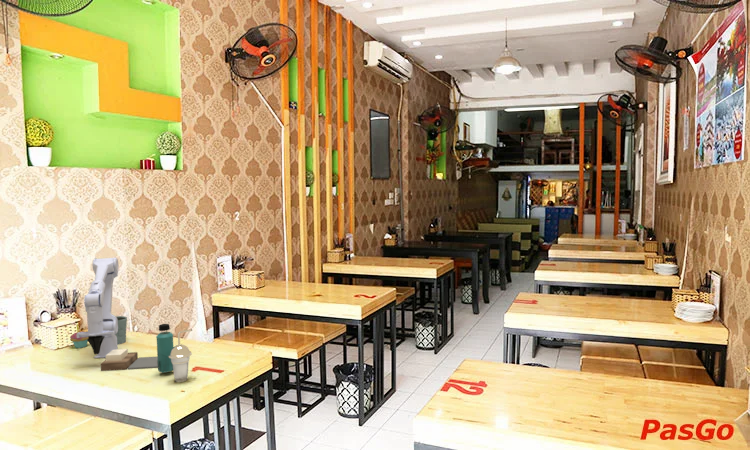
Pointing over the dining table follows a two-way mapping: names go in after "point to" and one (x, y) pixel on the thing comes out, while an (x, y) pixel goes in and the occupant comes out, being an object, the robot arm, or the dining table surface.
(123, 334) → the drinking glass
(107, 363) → the board
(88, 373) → the dining table surface
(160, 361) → the beverage bottle
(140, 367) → the mat
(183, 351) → the cup with straw
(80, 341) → the cupcake
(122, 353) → the tile
